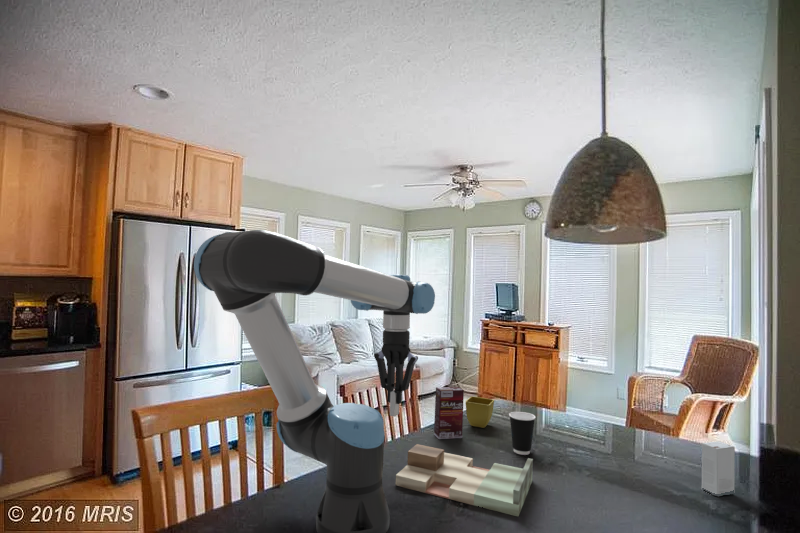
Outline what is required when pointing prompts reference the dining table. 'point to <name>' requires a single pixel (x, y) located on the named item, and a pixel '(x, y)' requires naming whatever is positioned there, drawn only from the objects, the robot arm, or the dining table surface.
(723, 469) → the skincare box
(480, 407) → the flower pot
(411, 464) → the walnut block
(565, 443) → the dining table surface
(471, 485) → the platform
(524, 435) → the dixie cup
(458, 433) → the supplement box
